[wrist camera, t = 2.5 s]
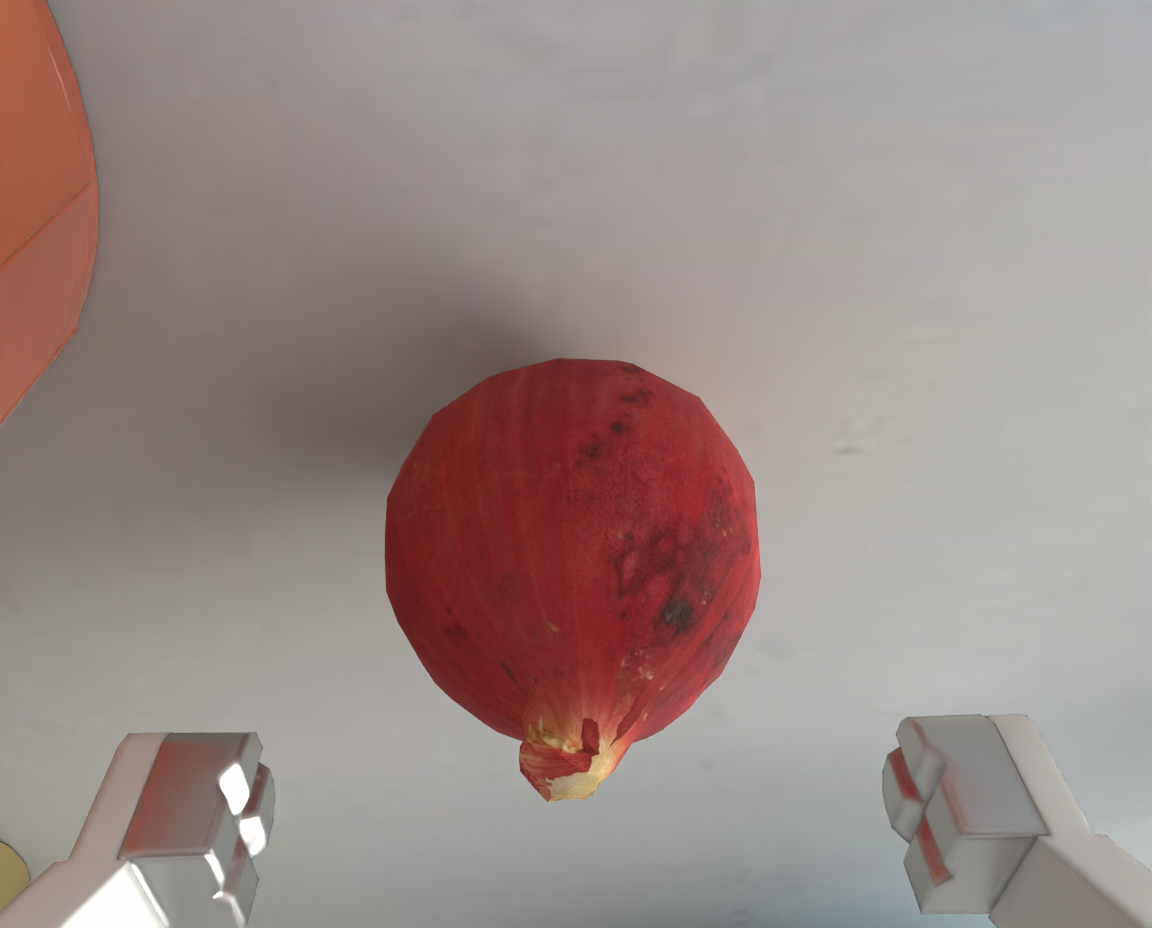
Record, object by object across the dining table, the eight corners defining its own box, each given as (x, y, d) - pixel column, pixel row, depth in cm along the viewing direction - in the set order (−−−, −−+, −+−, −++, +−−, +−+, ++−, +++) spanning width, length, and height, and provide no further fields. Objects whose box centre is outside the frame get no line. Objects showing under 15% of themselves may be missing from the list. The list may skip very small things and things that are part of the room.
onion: (607, 204, 15) (661, 540, 8) (772, 432, 18) (905, 805, 11) (348, 385, 16) (234, 767, 10) (537, 562, 19) (538, 941, 13)
